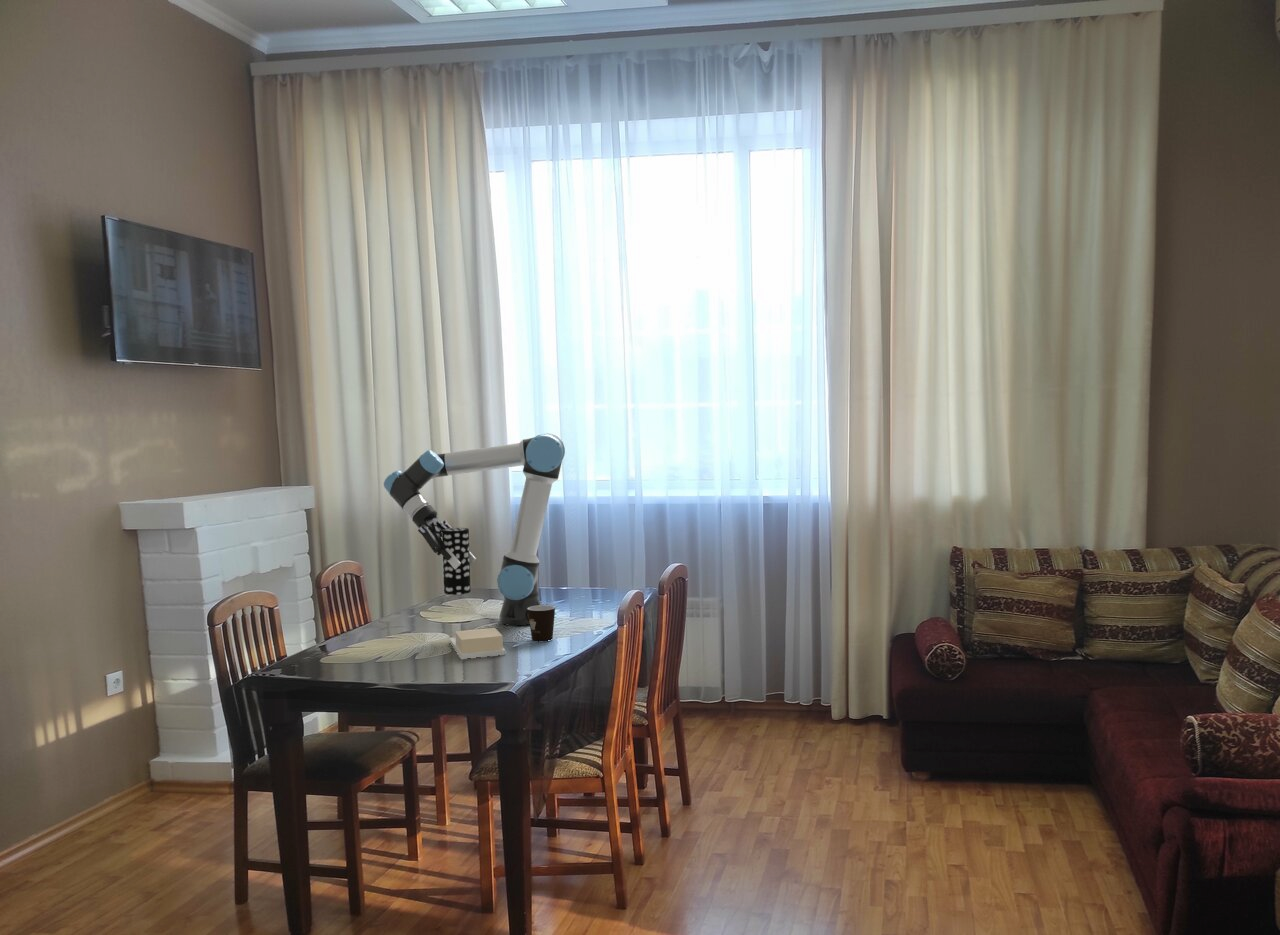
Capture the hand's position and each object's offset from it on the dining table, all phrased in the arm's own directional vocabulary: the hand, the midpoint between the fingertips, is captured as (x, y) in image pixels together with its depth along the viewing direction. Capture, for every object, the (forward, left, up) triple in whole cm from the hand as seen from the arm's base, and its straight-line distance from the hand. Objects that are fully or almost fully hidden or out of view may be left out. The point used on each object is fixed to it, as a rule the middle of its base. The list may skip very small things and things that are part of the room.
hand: (465, 563), depth 318 cm
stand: (0, +16, -24) cm, 28 cm away
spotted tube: (+3, -2, -9) cm, 10 cm away
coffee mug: (-21, +11, -24) cm, 34 cm away
